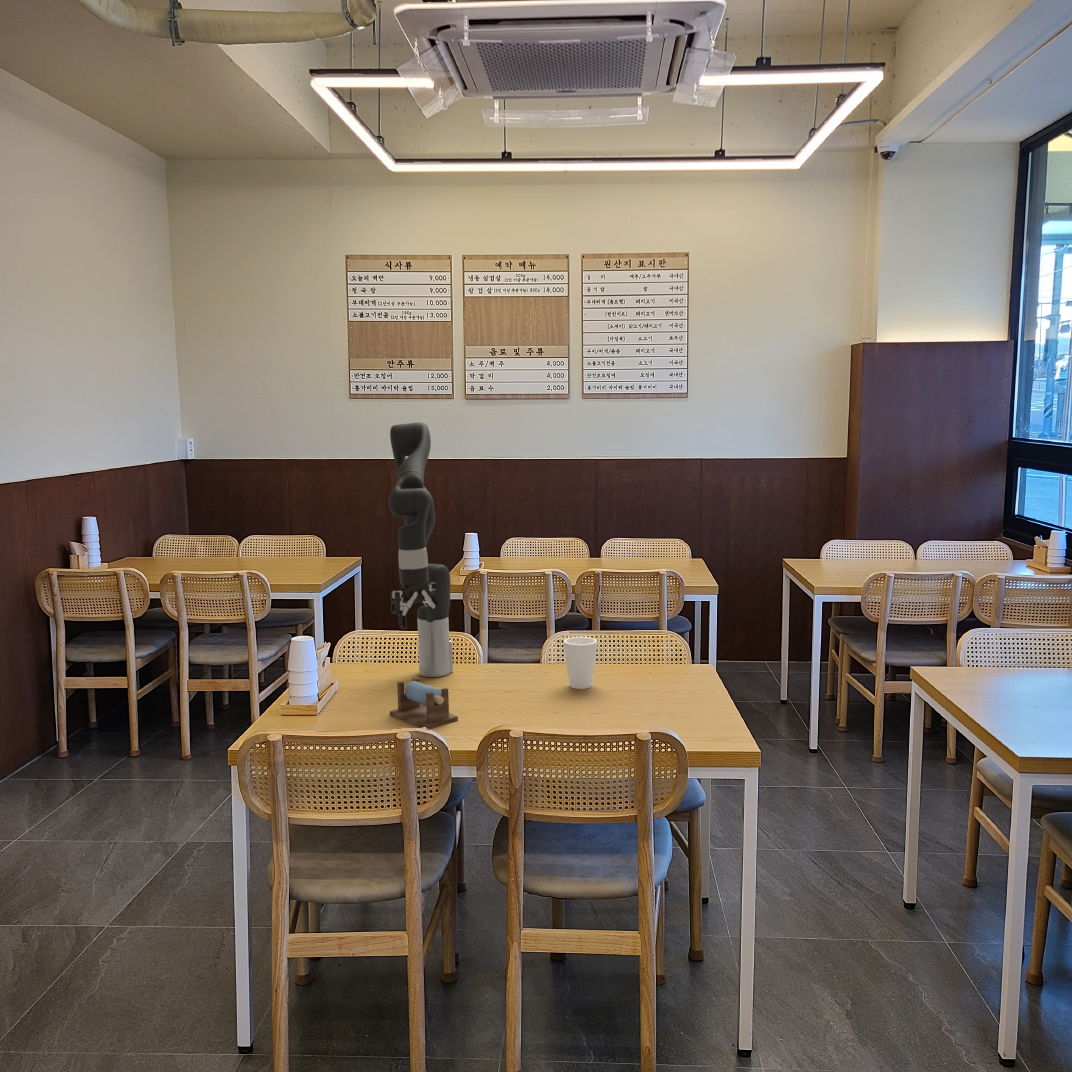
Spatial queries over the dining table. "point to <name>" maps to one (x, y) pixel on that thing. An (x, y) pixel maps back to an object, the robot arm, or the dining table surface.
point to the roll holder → (423, 709)
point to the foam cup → (580, 661)
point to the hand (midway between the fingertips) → (417, 625)
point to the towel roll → (422, 693)
